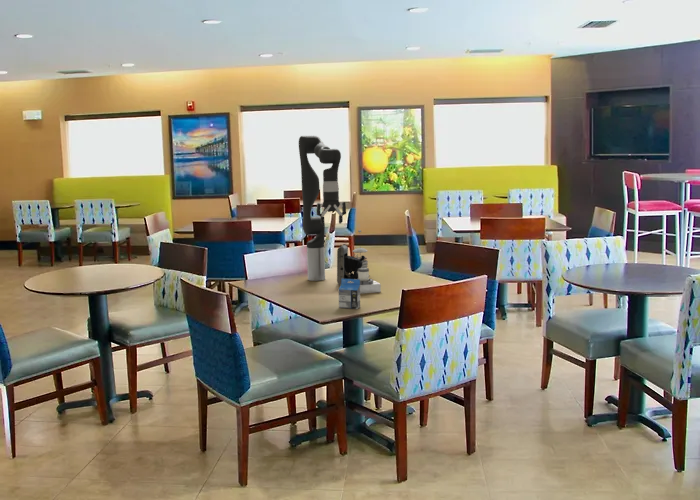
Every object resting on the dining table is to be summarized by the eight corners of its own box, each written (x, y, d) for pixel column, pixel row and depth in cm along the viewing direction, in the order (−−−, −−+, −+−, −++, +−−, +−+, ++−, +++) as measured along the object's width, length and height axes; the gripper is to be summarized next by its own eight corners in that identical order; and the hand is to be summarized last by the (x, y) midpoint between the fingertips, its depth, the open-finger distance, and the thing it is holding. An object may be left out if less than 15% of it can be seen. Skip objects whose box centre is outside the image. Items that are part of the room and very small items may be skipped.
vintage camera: (366, 286, 355) (367, 247, 352) (336, 285, 358) (336, 246, 355) (369, 283, 364) (370, 245, 361) (340, 281, 367) (341, 243, 364)
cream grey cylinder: (357, 284, 338) (356, 269, 337) (359, 282, 343) (359, 267, 342) (367, 284, 337) (367, 269, 336) (370, 282, 342) (369, 268, 341)
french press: (373, 275, 384) (372, 229, 380) (362, 278, 374) (361, 231, 371) (357, 273, 389) (356, 228, 386) (346, 277, 379) (345, 230, 376)
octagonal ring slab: (344, 291, 343) (344, 279, 342) (374, 288, 347) (374, 277, 346) (349, 294, 334) (349, 283, 334) (380, 292, 338) (380, 280, 338)
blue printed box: (338, 308, 307) (337, 280, 305) (341, 306, 310) (340, 278, 309) (357, 309, 304) (357, 281, 302) (360, 307, 307) (360, 279, 305)
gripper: (342, 189, 348) (343, 222, 350) (314, 190, 344) (315, 224, 346) (347, 190, 340) (347, 224, 343) (318, 191, 337) (319, 225, 339)
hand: (331, 223), depth 344 cm, fingers open, 8 cm apart
